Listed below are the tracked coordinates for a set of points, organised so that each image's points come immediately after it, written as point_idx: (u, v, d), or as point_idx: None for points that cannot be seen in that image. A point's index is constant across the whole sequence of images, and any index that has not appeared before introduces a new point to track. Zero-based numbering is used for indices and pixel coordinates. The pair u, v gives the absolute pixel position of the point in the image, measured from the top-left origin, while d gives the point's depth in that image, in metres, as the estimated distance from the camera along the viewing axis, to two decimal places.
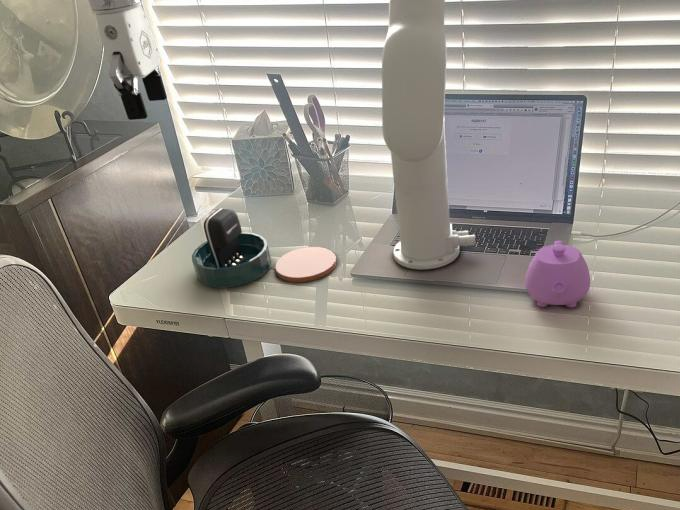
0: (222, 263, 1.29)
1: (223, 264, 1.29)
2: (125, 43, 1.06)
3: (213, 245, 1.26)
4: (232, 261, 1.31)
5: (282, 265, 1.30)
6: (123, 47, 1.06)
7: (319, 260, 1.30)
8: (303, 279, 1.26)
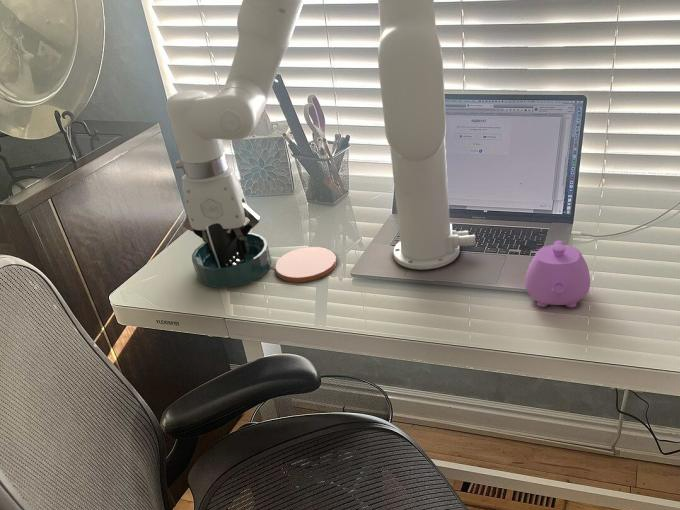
0: (223, 263, 1.29)
1: (224, 264, 1.29)
2: None
3: (213, 245, 1.26)
4: (233, 261, 1.31)
5: (282, 265, 1.30)
6: None
7: (319, 260, 1.30)
8: (303, 279, 1.26)
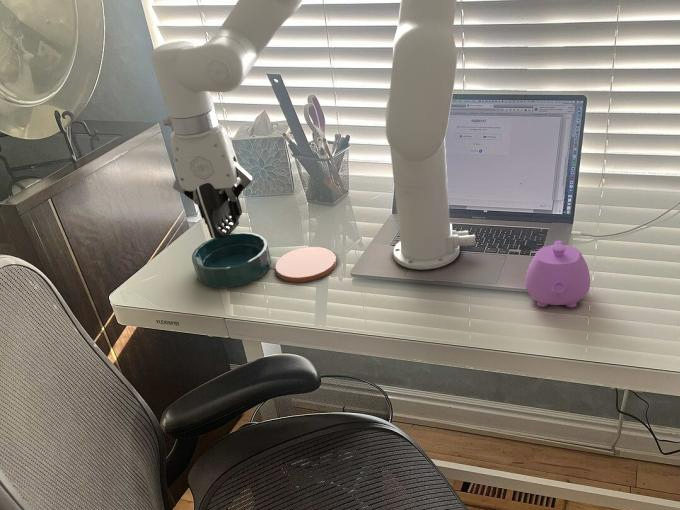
0: (215, 226, 1.24)
1: (216, 227, 1.24)
2: None
3: (205, 207, 1.21)
4: (225, 224, 1.27)
5: (282, 265, 1.30)
6: None
7: (319, 260, 1.30)
8: (303, 279, 1.26)
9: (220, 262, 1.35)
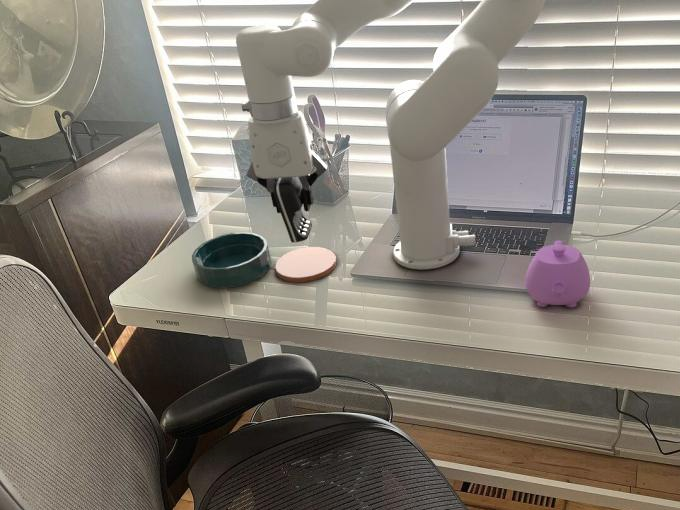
0: (296, 229, 1.23)
1: (297, 230, 1.24)
2: (250, 146, 1.16)
3: (286, 211, 1.21)
4: (302, 227, 1.26)
5: (282, 265, 1.30)
6: None
7: (319, 260, 1.30)
8: (303, 279, 1.26)
9: (220, 262, 1.35)
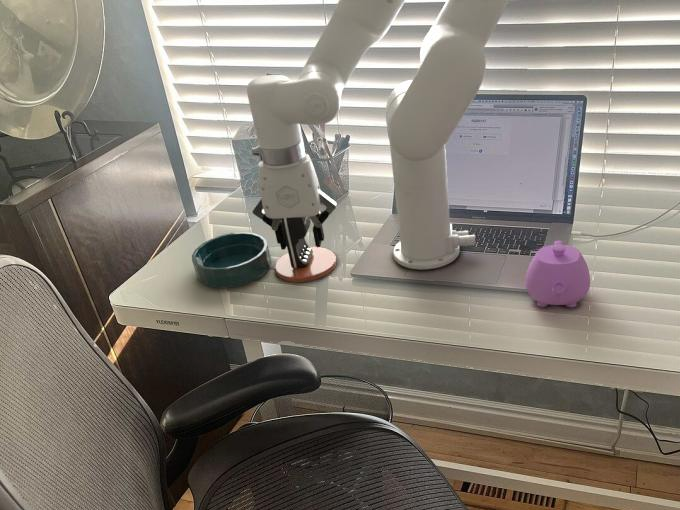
0: (298, 255, 1.27)
1: (299, 256, 1.27)
2: (260, 188, 1.20)
3: (290, 238, 1.25)
4: (303, 253, 1.30)
5: (282, 265, 1.30)
6: None
7: (319, 260, 1.30)
8: (303, 279, 1.26)
9: (220, 262, 1.35)
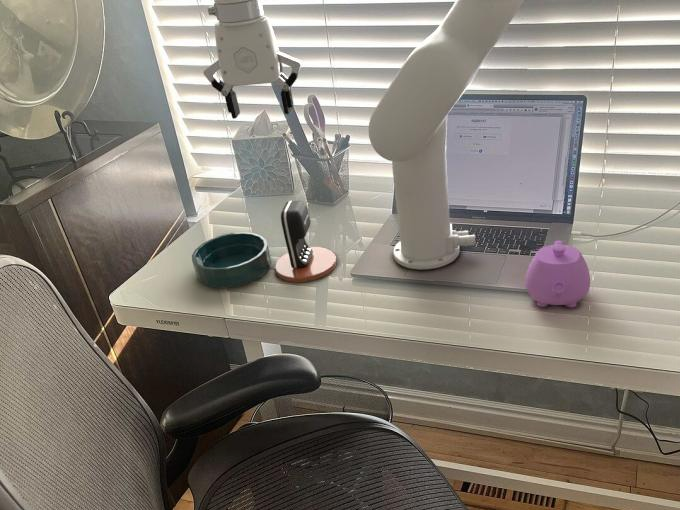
0: (298, 255, 1.27)
1: (299, 256, 1.27)
2: (217, 51, 1.16)
3: (290, 238, 1.25)
4: (303, 253, 1.30)
5: (282, 265, 1.30)
6: None
7: (319, 260, 1.30)
8: (303, 279, 1.26)
9: (220, 262, 1.35)
